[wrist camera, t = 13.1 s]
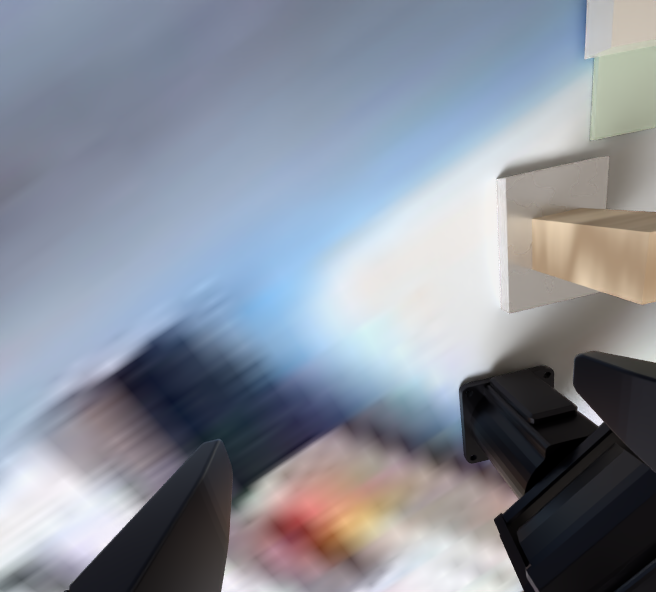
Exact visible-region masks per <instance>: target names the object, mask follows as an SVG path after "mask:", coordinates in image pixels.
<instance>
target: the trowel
mask: <svg viewBox="0 0 656 592" xmlns="http://www.w3.org/2000/svg"><path fill="white" fill-rule="evenodd" d="M608 172H609V156H605V157H596V158H591V159H587V160H582V161H577V162H573V163H568V164H563V165H559V166H554V167H549V168H545V169H540V170H535V171H531V172H526V173H522V174H517V175H512V176H508V177H503V178H498V179H496V191H497V218H498V245H499V272H500V299H501V309H502V310H504V311H505V312H507V313H509V314H510V313H514V312H518V311H523V310H527V309H531V308H535V307H540V306H544V305H548V304H552V303H557V302H561V301H565V300H569V299H574V298H578V297H582V296H586V295H591V294H595V293H599V292H603V293H607V294H610V295H613V296H616V297H619V298H622V299H625V300H628V301H631V302H635V303H638V304H641V305H643V304H648V303H652V302H656V212H645V211H627V210H610V209H606V203H607V187H608Z"/></svg>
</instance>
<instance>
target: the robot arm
mask: <svg viewBox="0 0 656 592" xmlns="http://www.w3.org/2000/svg"><path fill="white" fill-rule="evenodd" d="M545 372H546V373H545ZM544 373H545V374H544ZM573 384H574V387H575V389H576V391H577V392H578V394H579V395H580V396H581V397H582V398H583V399H584V400H585V401H586V402H587V404H588V405H589V406H590V407H591V408H592V409H593V410H594V411H595V412H596V413H597V414H598V416H599V417H600V418H601V419H602V420H603V421H604V422H603V423H602V424H601V425H600V426H597V425H596V424H595V423H593V422H592V421H591V420H589V419H588V418H587V417H585V416H584V415H583V414H581V413H580V412H579V411H578V410H577V406H576V405H575V404H574V403H572V402H571V401H570V400H568V399H567V398H566V397H564V396H563V395H562V394H560V393H559V392H558V391H556V390H555V389H554V371H553V370H552V369H551V368H550V367H548V366H546V365H545V366H539V367H535V368H531V369H526V370H522V371H517V372H513V373H509V374H505V375H500V376H496V377H492V378H488V379H484V380H480V381H476V382H471V383H467V384H464V385H462V386H461V387H460V389H459V398H460V410H461V423H462V436H463V449H464V457H465V458H466V460H467V461H468V462H469V463H477V462H481V461H485V460H490V461H491V463H492V464H493V465H494V467H495V468H496V469H497V471H498V472H499V473H500V475H501V476H502V477H503V479H504V480H505V481H506V483H507V484H508V485H509V487H510V488H511V489H512V491H513V492H514V493H515V495H516V496H517V497H518V499H519V500H518V501H517V502H515V503H514V504H513V505H512V506H511V507H510V508H509V509H508V510H507V511H506V512H504V513H503V514H502V513H500V514H499V515H498V516H497V517H496V518H495V519H494V522H495V524H496V526H497V528H498V531H499V533H500V538H501V540H502V542H503V544H504V547H505V549H506V551H507V554H508V556H509V558H510V560H511V563H512V565H513V567H514V569H515V572H516V574H517V576H518V578H519V581H520V583H521V585H522V587H523V590H524V592H656V363H654V362H649V361H644V360H639V359H634V358H629V357H623V356H618V355H613V354H608V353H603V352H598V351H589V352H585V353H581V354H578V355H576V357H575V358H574V372H573ZM468 390H469V392H468V393H466V392H467V391H468ZM472 455H473V456H472ZM232 476H233V474H232V466H231V463H230V460H229V457H228V454H227V452H226V449H225V446H224V443H223V442H222V440H220V439H216V440H212V441H208V442H204V443H203V444H202V445H201V446H200V447H199V448H198V449H197V450H196V451H195V452H194V453H193V454H192V455H191V456H190V457H189V458H188V459H187V460H186V462H185V463H184V464H183V465H182V466H181V467H180V468H179V469H178V470H177V471H176V472H175V473H174V474H173V475H172V476H171V478H170V479H169V480H168V481H167V482H166V483H165V484H164V485H163V486H162V487H161V488H160V489H159V490H158V491H157V492H156V494H155V495H154V496H153V497H152V498H151V499H150V500H149V501H148V502H147V503H146V504H145V505H144V506H143V507H142V508H141V510H140V511H139V512H138V513H137V514H136V515H135V516H134V517H133V518H132V519H131V520H130V521H129V522H128V523H127V525H126V526H125V527H124V528H123V529H122V530H121V531H120V532H119V533H118V534H117V535H116V536H115V537H114V538H113V539H112V541H111V542H110V543H109V544H108V545H107V546H106V547H105V548H104V549H103V550H102V551H101V552H100V553H99V554H98V555H97V557H96V558H95V559H94V560H93V561H92V562H91V563H90V564H89V565H88V566H87V567H86V568H85V569H84V570H83V571H82V573H81V574H80V575H79V576H78V577H77V578H76V579H75V580H74V581H73V582H72V583H71V584H70V586H69V590H65V591H64V592H221V589H222V583H223V577H224V571H225V564H226V558H227V551H228V543H229V530H230V512H231V494H232Z"/></svg>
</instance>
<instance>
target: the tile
mask: <svg viewBox="0 0 656 592" xmlns="http://www.w3.org/2000/svg"><path fill="white" fill-rule="evenodd" d="M651 46H656V0H587V13H586V36H585V59H589V58H594V57H600V56H605V55H610V54H615V53H620V52H625V51H631V50H636V49H641V48H646V47H651Z"/></svg>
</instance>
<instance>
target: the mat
mask: <svg viewBox="0 0 656 592" xmlns="http://www.w3.org/2000/svg"><path fill="white" fill-rule="evenodd" d="M652 128H656V46H651V47H646V48H641V49H636V50H631V51H625V52H620V53H615V54H610V55H605V56H600V57H594V72H593V91H592V110H591V129H590V141H592V140H598V139H603V138H607V137H612V136H617V135H622V134H627V133H632V132H637V131H642V130H647V129H652Z"/></svg>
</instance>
